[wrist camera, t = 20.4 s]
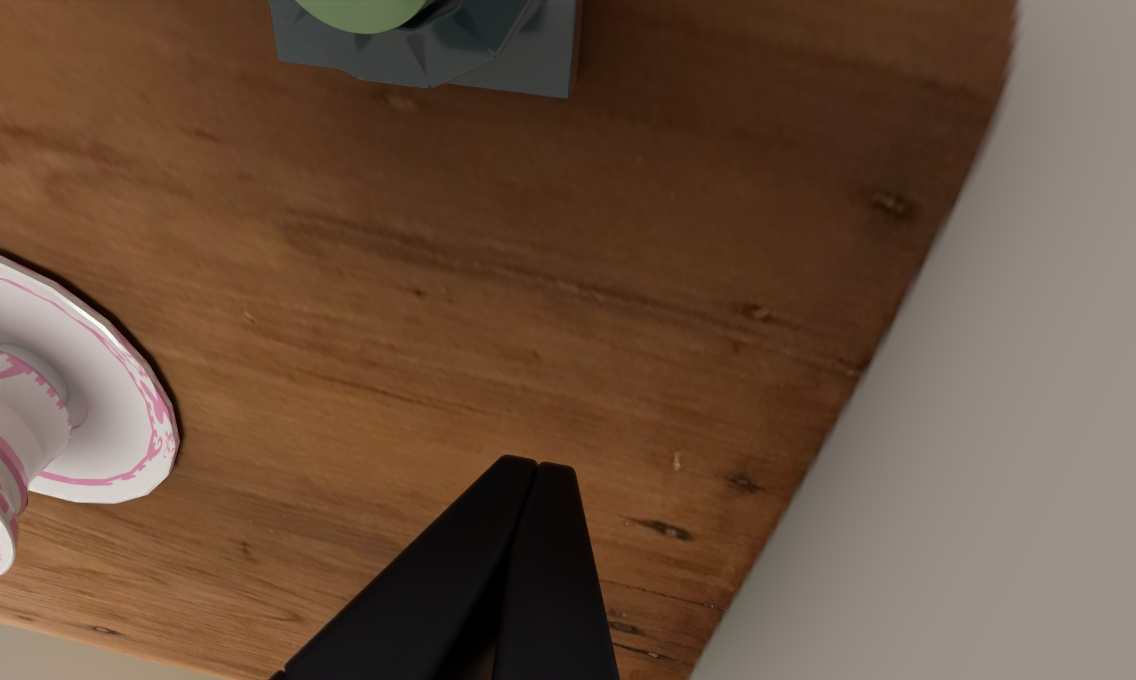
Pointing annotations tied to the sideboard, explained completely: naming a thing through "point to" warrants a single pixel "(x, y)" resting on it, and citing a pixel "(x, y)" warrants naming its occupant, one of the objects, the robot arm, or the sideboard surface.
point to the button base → (448, 45)
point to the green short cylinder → (364, 13)
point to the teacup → (72, 405)
